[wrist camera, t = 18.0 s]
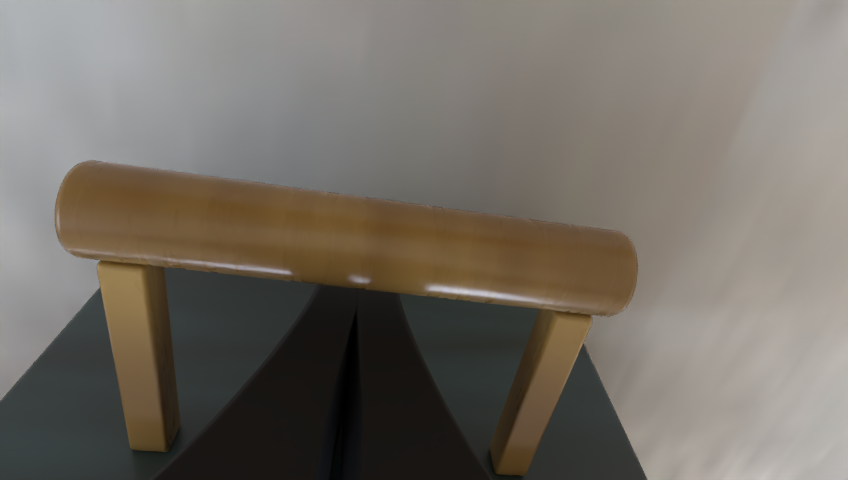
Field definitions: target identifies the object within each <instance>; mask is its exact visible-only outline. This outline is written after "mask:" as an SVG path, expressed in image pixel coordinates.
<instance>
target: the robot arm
mask: <svg viewBox="0 0 848 480" xmlns="http://www.w3.org/2000/svg"><path fill="white" fill-rule="evenodd" d="M341 424H342V435H341V480H493V479H492V478H491V476H490V475H489V473H488V472H487V470H486V469H485V467H484V466H483V464H482V463H481V461H480V460H479V458H478V457H477V455H476V453H475V452H474V450H473V449H472V447H471V445H470V444H469V442H468V441H467V439H466V437H465V436H464V434H463V432H462V431H461V429H460V427H459V426H458V424H457V422H456V420H455V419H454V417H453V415H452V413H451V411H450V410H449V408H448V406H447V404H446V403H445V401H444V399H443V397H442V395H441V393H440V391H439V389H438V388H437V386H436V384H435V382H434V380H433V378H432V375H431V373H430V371H429V369H428V367H427V365H426V363H425V361H424V359H423V357H422V355H421V352H420V350H419V348H418V346H417V343H416V341H415V339H414V336H413V334H412V331H411V329H410V326H409V324H408V321H407V318H406V315H405V313H404V310H403V306H402V303H401V300H400V295H399V293H391V292H382V291H373V290H364V289H355V288H346V287H337V286H328V285H319V284H317V285H316V287H315V289H314V291H313V293H312V295H311V297H310V298H309V300H308V302H307V303H306V305H305V307H304V308H303V310H302V311H301V313H300V314H299V316H298V317H297V318H296V320H295V321H294V323H293V324H292V326H291V327H290V328H289V330H288V331H287V332H286V334H285V335H284V336H283V338H282V339H281V340H280V341H279V343H278V344H277V345H276V347H275V348H274V349H273V351H272V352H271V353H270V354H269V356H268V357H267V358H266V359H265V361H264V362H263V363H262V364H261V366H260V367H259V368H258V369H257V370H256V371H255V372H254V374H253V375H252V376H251V377H250V378H249V379H248V380H247V382H246V383H245V384H244V385H243V386H242V387H241V388H240V389H239V391H238V392H237V393H236V394H235V395H234V396H233V397H232V399H231V400H230V401H229V402H228V403H227V404H226V405H225V406H224V407H223V408H222V409H221V410H220V411H219V413H218V414H217V415H216V416H215V417H214V418H213V419H212V420H211V421H210V422H209V423H208V424H207V425H206V426H205V427H204V428H203V429H202V430H201V431H200V432H199V433H198V434H197V435H196V436H195V437H194V438H193V439H192V440H191V441H190V442H189V443H188V444H187V445H186V446H185V447H184V448H183V449H182V450H180V451H179V452H178V453H177V454H176V455H175V456H174V457H173V458H172V459H171V460H170V461H169V462H168V463H167V464H166V465H165V466H164V467H162V468H161V469H160V470H159V471H158V472H157V473H156V474H155V475H153V476H152V477H151V478H150V479H149V480H329V479H330V475H331V470H332V465H333V461H334V456H335V451H336V447H337V442H338V438H339V433H340V428H341Z"/></svg>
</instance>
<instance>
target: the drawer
mask: <svg viewBox="0 0 848 480" xmlns="http://www.w3.org/2000/svg"><path fill="white" fill-rule="evenodd" d="M55 228H56V233H57V236H58V239H59V241H60V243H61V245H62V246H63V248H64V249H65V250H66V251H67V252H69V253H71V254H72V255H74V256H76V257H79V258H86V259H95V260H100V261H99V263H98V265H97V272H98V277H99V283H100V288H99V289H98V290H97V291H96V292H95V294H94V295H93V296H92V297H91V298H90V299H89V300H88V302H87V303H86V304H85V305H84V306H83V307H82V308H81V310H80V311H79V312H78V313H77V314H76V315H75V316H74V318H73V319H72V320H71V321H70V322H69V323H68V324H67V326H66V327H65V328H64V329H63V330H62V331H61V332H60V334H59V335H58V336H57V337H56V338H55V339H54V340H53V342H52V343H51V344H50V345H49V346H48V347H47V348H46V350H45V351H44V352H43V353H42V354H41V355H40V357H39V358H38V359H37V360H36V361H35V362H34V363H33V365H32V366H31V367H30V368H29V369H28V370H27V371H26V373H25V374H24V375H23V376H22V377H21V378H20V379H19V381H18V382H17V383H16V384H15V385H14V386H13V387H12V389H11V390H10V391H9V392H8V393H7V394H6V395H5V397H4V398H3V399H2V400H1V401H0V480H149V479H150V478H151V477H152V476H153V475H155V474H156V473H157V472H158V471H159V470H160V469H161V468H162V467H164V466H165V465H166V464H167V463H168V462H169V461H170V460H171V459H172V458H173V457H174V456H175V455H176V454H177V453H178V452H179V451H180V450H182V449H183V448H184V447H185V446H186V445H187V444H188V443H189V442H190V441H191V440H192V439H193V438H194V437H195V436H196V435H197V434H198V433H199V432H200V431H201V430H202V429H203V428H204V427H205V426H206V425H207V424H208V423H209V422H210V421H211V420H212V419H213V418H214V417H215V416H216V415H217V414H218V413H219V411H220V410H221V409H222V408H223V407H224V406H225V405H226V404H227V403H228V402H229V401H230V400H231V399H232V397H233V396H234V395H235V394H236V393H237V392H238V391H239V389H240V388H241V387H242V386H243V385H244V384H245V383H246V382H247V380H248V379H249V378H250V377H251V376H252V375H253V374H254V372H255V371H256V370H257V369H258V368H259V367H260V366H261V364H262V363H263V362H264V361H265V359H266V358H267V357H268V356H269V354H270V353H271V352H272V351H273V349H274V348H275V347H276V345H277V344H278V343H279V341H280V340H281V339H282V338H283V336H284V335H285V334H286V332H287V331H288V330H289V328H290V327H291V326H292V324H293V323H294V321H295V320H296V318H297V317H298V316H299V314H300V313H301V311H302V310H303V308H304V307H305V305H306V303H307V302H308V300H309V298H310V297H311V295H312V293H313V291H314V289H315V287H316V285H317V284H319V285H328V286H337V287H346V288H355V289H364V290H373V291H382V292H391V293H399V295H400V300H401V303H402V306H403V310H404V313H405V315H406V318H407V321H408V324H409V326H410V329H411V331H412V334H413V336H414V339H415V341H416V343H417V346H418V348H419V350H420V352H421V355H422V357H423V359H424V361H425V363H426V365H427V367H428V369H429V371H430V373H431V375H432V378H433V380H434V382H435V384H436V386H437V388H438V389H439V391H440V393H441V395H442V397H443V399H444V401H445V403H446V404H447V406H448V408H449V410H450V411H451V413H452V415H453V417H454V419H455V420H456V422H457V424H458V426H459V427H460V429H461V431H462V432H463V434H464V436H465V437H466V439H467V441H468V442H469V444H470V445H471V447H472V449H473V450H474V452H475V453H476V455H477V457H478V458H479V460H480V461H481V463H482V464H483V466H484V467H485V469H486V470H487V472H488V473H489V475H490V476H491V478H492V479H493V480H647V478H646V476H645V473H644V471H643V469H642V467H641V465H640V463H639V461H638V458H637V456H636V454H635V452H634V450H633V448H632V446H631V444H630V441H629V439H628V437H627V435H626V433H625V431H624V429H623V427H622V424H621V422H620V420H619V418H618V416H617V414H616V412H615V409H614V407H613V405H612V403H611V401H610V399H609V397H608V395H607V392H606V390H605V388H604V386H603V384H602V382H601V380H600V377H599V375H598V373H597V371H596V369H595V367H594V365H593V363H592V360H591V358H590V356H589V354H588V352H587V350H586V348H585V346H584V340H585V338H586V336H587V333H588V331H589V329H590V326H591V324H592V316H591V315H597V316H606V317H610V316H614V315H617V314H619V313H621V312H622V311H623V310H624V309H625V308H626V307H627V305H628V304H629V302H630V300H631V298H632V296H633V293H634V290H635V286H636V282H637V273H638V263H637V255H636V251H635V248H634V245H633V243H632V242H631V240H630V239H629V238H628V237H627V236H626V235H624V234H623V233H621V232H619V231H613V230H605V229H598V228H590V227H583V226H576V225H568V224H561V223H553V222H546V221H539V220H531V219H524V218H516V217H509V216H502V215H494V214H487V213H479V212H472V211H465V210H457V209H450V208H442V207H435V206H427V205H420V204H413V203H405V202H398V201H390V200H383V199H376V198H368V197H361V196H353V195H346V194H339V193H331V192H324V191H316V190H309V189H302V188H294V187H287V186H279V185H272V184H265V183H257V182H250V181H242V180H235V179H228V178H220V177H213V176H205V175H198V174H191V173H183V172H176V171H168V170H161V169H154V168H146V167H139V166H131V165H124V164H116V163H109V162H102V161H94V160H90V161H85V162H82V163H79V164H77V165H75V166H74V167H73V168H72V169H71V170H70V171H69V172H68V173H67V175H66V176H65V178H64V180H63V182H62V184H61V186H60V189H59V192H58V195H57V199H56V205H55ZM341 435H342V424H341V428H340V433H339V438H338V442H337V447H336V451H335V456H334V461H333V465H332V470H331V475H330V479H329V480H341Z"/></svg>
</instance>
